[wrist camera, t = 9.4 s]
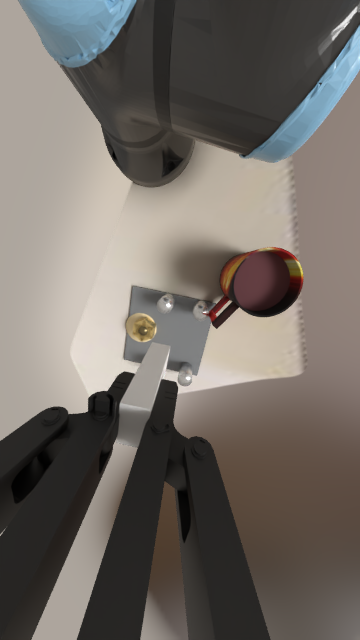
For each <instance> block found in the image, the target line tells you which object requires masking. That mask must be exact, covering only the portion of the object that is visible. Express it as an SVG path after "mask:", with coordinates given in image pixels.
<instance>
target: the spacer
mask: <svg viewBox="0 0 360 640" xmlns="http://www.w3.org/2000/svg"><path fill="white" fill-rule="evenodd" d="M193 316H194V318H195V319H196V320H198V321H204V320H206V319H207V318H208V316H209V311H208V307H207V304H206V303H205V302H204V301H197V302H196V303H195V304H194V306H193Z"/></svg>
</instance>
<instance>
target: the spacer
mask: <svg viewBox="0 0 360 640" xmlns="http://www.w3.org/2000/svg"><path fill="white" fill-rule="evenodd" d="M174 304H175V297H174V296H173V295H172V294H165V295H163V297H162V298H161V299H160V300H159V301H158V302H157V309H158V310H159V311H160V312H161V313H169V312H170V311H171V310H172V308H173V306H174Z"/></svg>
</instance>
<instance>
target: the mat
mask: <svg viewBox="0 0 360 640" xmlns="http://www.w3.org/2000/svg"><path fill="white" fill-rule="evenodd" d="M165 294H170V293H165V292H161V291H156V290H151V289H146V288H142V287H137V286H133V289H132V298H131V306H130V314H129V318H128V320H127V322H126V330H127V339H126V348H125V356H124V360H129V361H133V362H138V363H141V362H142V360H143V359H144V357H145V355H146V353H147V351H148V349H149V347H150V345H151V344H152V342H154V343H159V344H163V345H168V346H170V351H169V356H168V362H167V367H166V369H169V370H174V371H178V372H179V368H180V365H181V363H183V362H188V363H190V364H191V365H192V375H196V376H197V373H198V370H199V366H200V362H201V358H202V355H203V351H204V347H205V343H206V340H207V336H208V332H209V328H210V324H211V319H210V318H209V316H208V318H207V319H206V320H204V321H198V320H196V319H195V318H194V316H193V306H194V304H195V303H196V302H197V301H203V300H198V299H193V298H189V297H184V296H179V295H175V294H172V295H173V296H174V297H175V304H174V306H173V308H172V310H171V311H170V312H169V313H161V312H160V311H159V310H158V309H157V302H158V301H159V300H160V299H161V298H162V297H163V295H165ZM204 302H205V303H206V304H207V307H208V311H210V310H211V309H212V308H213V307H214V306H215V305H216V303H212V302H207V301H204ZM145 317H149V318H150V319H151V320H152V321H153V322H154V323H156V329H155V335H154V336H153V338H152V339H149V340H145V341H142V342H141V341H140V340H139V339H138V338H137V337H135V336H134V335H133V326H134V323H135V322H136V321H137V320H139V319H142V318H145Z"/></svg>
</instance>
